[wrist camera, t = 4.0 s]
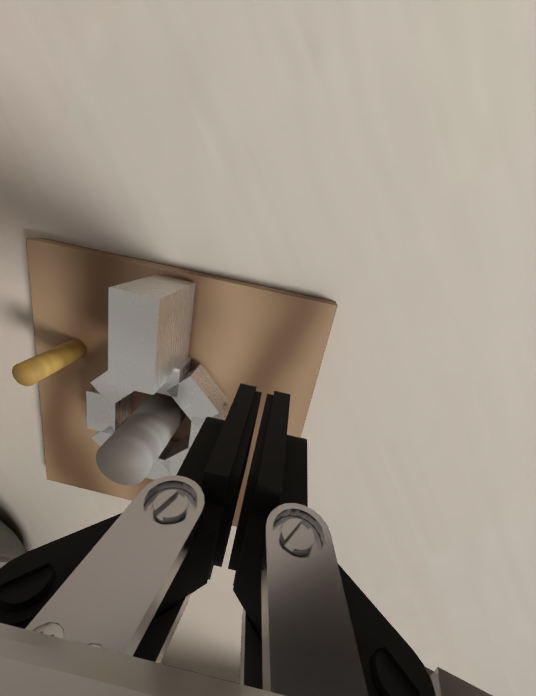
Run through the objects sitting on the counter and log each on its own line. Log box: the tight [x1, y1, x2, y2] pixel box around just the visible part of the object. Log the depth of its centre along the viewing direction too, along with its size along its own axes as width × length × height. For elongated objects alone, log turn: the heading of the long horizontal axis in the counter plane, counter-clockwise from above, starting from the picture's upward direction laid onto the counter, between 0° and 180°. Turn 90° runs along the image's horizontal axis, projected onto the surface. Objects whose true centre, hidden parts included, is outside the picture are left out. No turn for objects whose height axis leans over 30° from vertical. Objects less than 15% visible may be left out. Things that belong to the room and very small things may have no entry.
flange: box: [86, 274, 229, 480], centre depth 19 cm, size 9×14×5 cm, turn 169°
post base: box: [12, 238, 337, 527], centre depth 21 cm, size 20×20×7 cm
